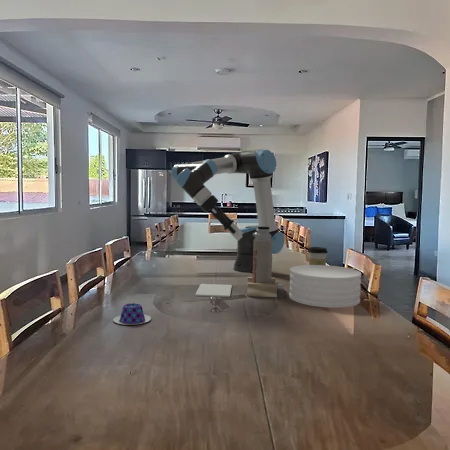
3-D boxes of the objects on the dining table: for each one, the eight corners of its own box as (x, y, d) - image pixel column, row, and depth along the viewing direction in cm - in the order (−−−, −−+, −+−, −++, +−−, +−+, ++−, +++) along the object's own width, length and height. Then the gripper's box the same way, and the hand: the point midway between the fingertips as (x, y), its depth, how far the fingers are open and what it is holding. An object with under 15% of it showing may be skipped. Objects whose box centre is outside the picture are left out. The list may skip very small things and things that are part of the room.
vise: (247, 288, 188) (247, 276, 187) (281, 289, 187) (281, 278, 187) (247, 296, 173) (247, 284, 173) (283, 297, 172) (284, 285, 172)
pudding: (132, 329, 129) (132, 312, 129) (105, 322, 136) (105, 306, 135) (158, 320, 139) (158, 304, 139) (132, 313, 146) (132, 298, 145)
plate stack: (360, 294, 181) (362, 268, 181) (358, 311, 155) (360, 280, 154) (295, 288, 191) (296, 263, 190) (282, 303, 164) (283, 273, 163)
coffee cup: (326, 280, 210) (328, 249, 209) (306, 278, 212) (307, 248, 210) (326, 276, 219) (327, 247, 218) (306, 275, 221) (307, 246, 220)
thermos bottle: (253, 294, 176) (255, 227, 174) (250, 290, 184) (252, 225, 182) (272, 294, 176) (274, 227, 174) (269, 290, 184) (271, 226, 182)
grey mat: (200, 285, 191) (200, 283, 191) (231, 286, 191) (231, 284, 191) (195, 295, 172) (195, 294, 172) (229, 297, 171) (229, 295, 171)
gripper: (202, 205, 191) (235, 239, 191) (195, 207, 166) (233, 246, 166) (214, 194, 190) (247, 228, 190) (209, 194, 165) (247, 233, 166)
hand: (240, 237), depth 178 cm, fingers open, 13 cm apart
